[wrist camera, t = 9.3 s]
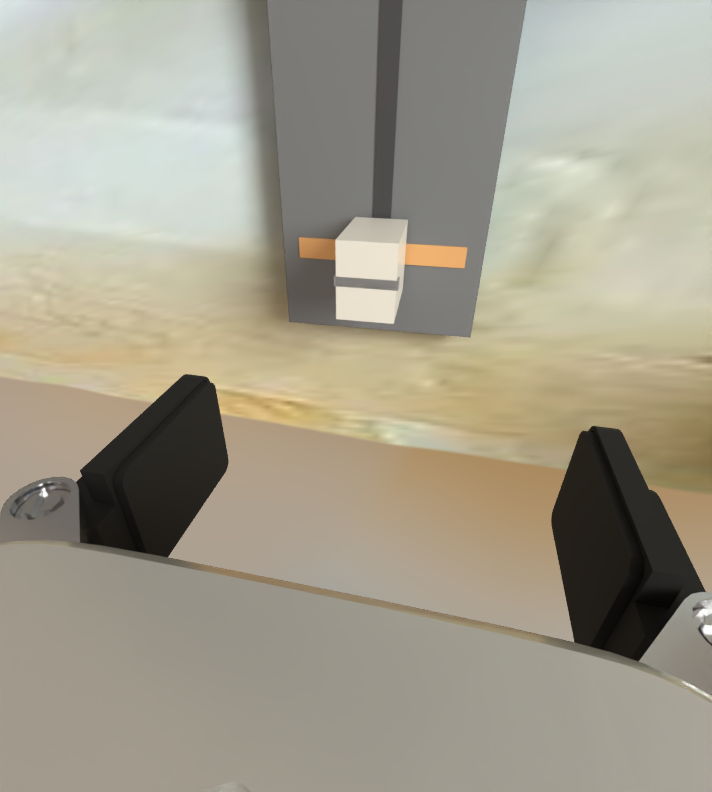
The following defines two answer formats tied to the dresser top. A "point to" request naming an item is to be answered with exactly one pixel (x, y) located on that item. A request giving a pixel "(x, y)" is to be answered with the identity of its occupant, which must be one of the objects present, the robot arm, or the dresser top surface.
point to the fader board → (391, 143)
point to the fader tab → (370, 269)
